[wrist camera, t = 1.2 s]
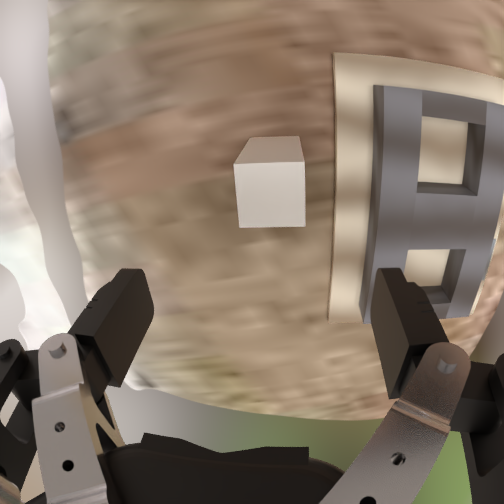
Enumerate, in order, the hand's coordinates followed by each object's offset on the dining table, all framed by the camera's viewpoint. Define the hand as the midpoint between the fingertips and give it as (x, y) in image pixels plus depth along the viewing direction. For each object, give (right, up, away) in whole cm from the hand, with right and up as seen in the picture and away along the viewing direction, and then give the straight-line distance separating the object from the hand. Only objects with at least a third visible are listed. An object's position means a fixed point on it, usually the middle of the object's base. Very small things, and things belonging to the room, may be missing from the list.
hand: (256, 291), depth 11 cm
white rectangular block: (+2, +9, +16) cm, 18 cm away
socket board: (+16, +6, +16) cm, 23 cm away
